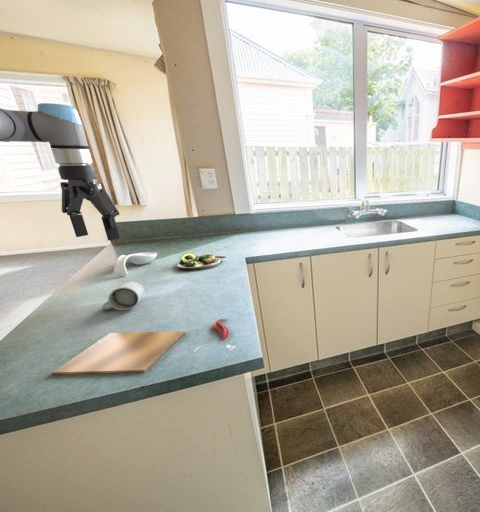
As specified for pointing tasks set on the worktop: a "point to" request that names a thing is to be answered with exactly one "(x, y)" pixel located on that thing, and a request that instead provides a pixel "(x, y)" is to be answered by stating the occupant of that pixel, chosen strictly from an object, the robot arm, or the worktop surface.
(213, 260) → the salad plate
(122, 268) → the spoon rest
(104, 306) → the ceramic mug
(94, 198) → the robot arm
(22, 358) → the worktop surface
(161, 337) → the cutting board
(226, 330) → the cayenne pepper
